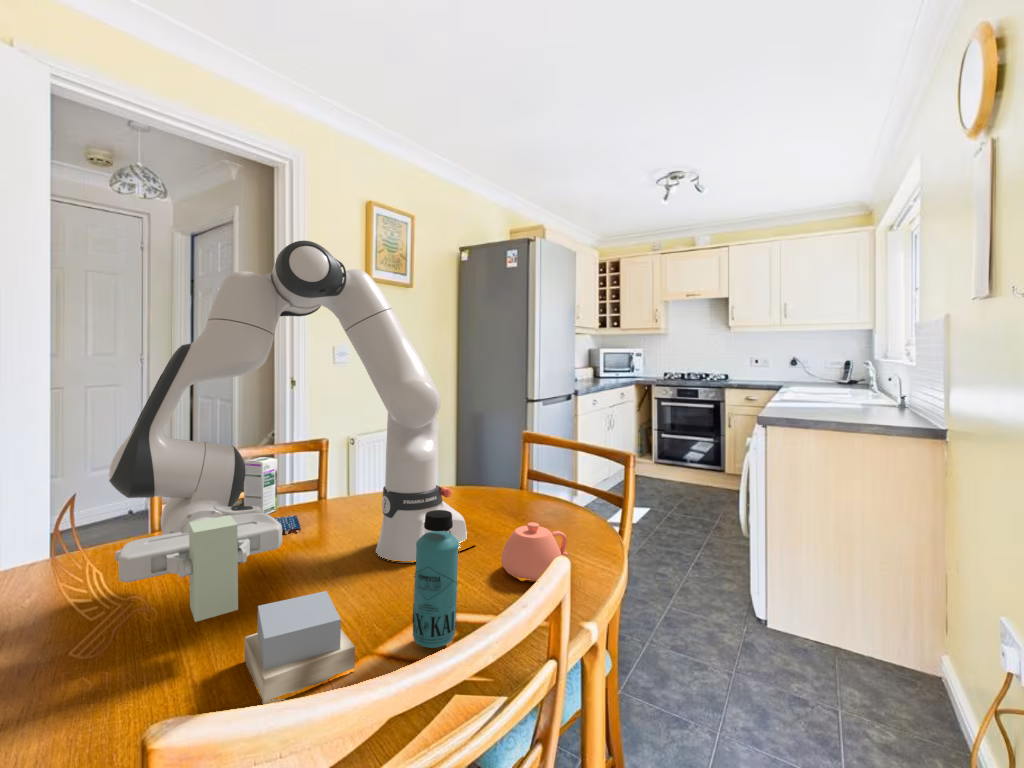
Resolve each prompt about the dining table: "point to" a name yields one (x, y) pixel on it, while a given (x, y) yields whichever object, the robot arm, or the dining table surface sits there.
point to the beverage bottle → (435, 582)
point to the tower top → (297, 629)
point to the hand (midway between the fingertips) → (214, 564)
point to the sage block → (213, 567)
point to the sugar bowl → (531, 551)
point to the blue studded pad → (289, 524)
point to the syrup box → (261, 484)
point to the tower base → (296, 669)
